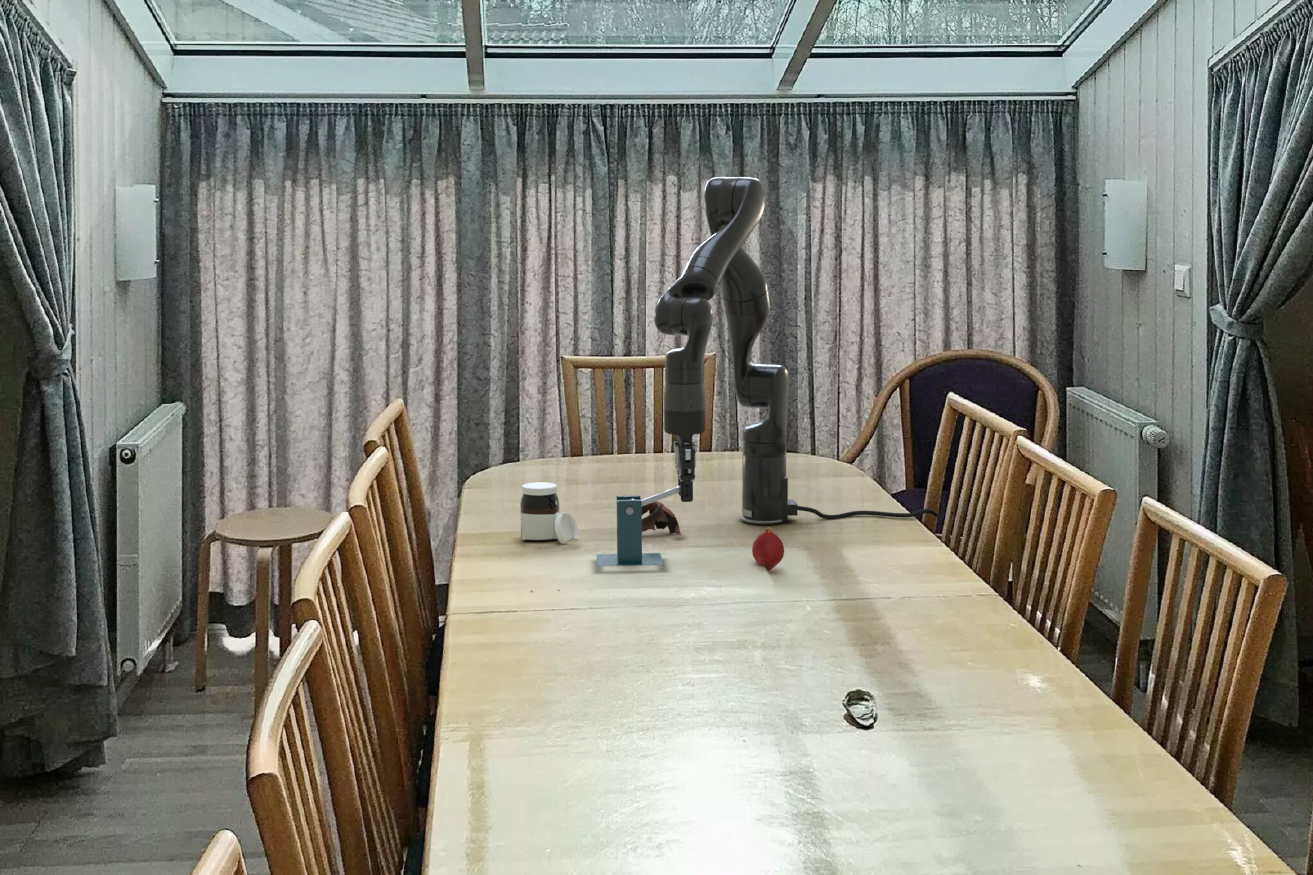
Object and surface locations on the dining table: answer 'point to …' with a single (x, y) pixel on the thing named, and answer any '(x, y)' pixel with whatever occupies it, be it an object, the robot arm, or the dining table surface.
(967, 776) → the dining table surface
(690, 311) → the robot arm
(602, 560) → the bracket
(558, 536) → the spread jar
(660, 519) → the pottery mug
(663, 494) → the lever
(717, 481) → the dining table surface
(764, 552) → the onion
